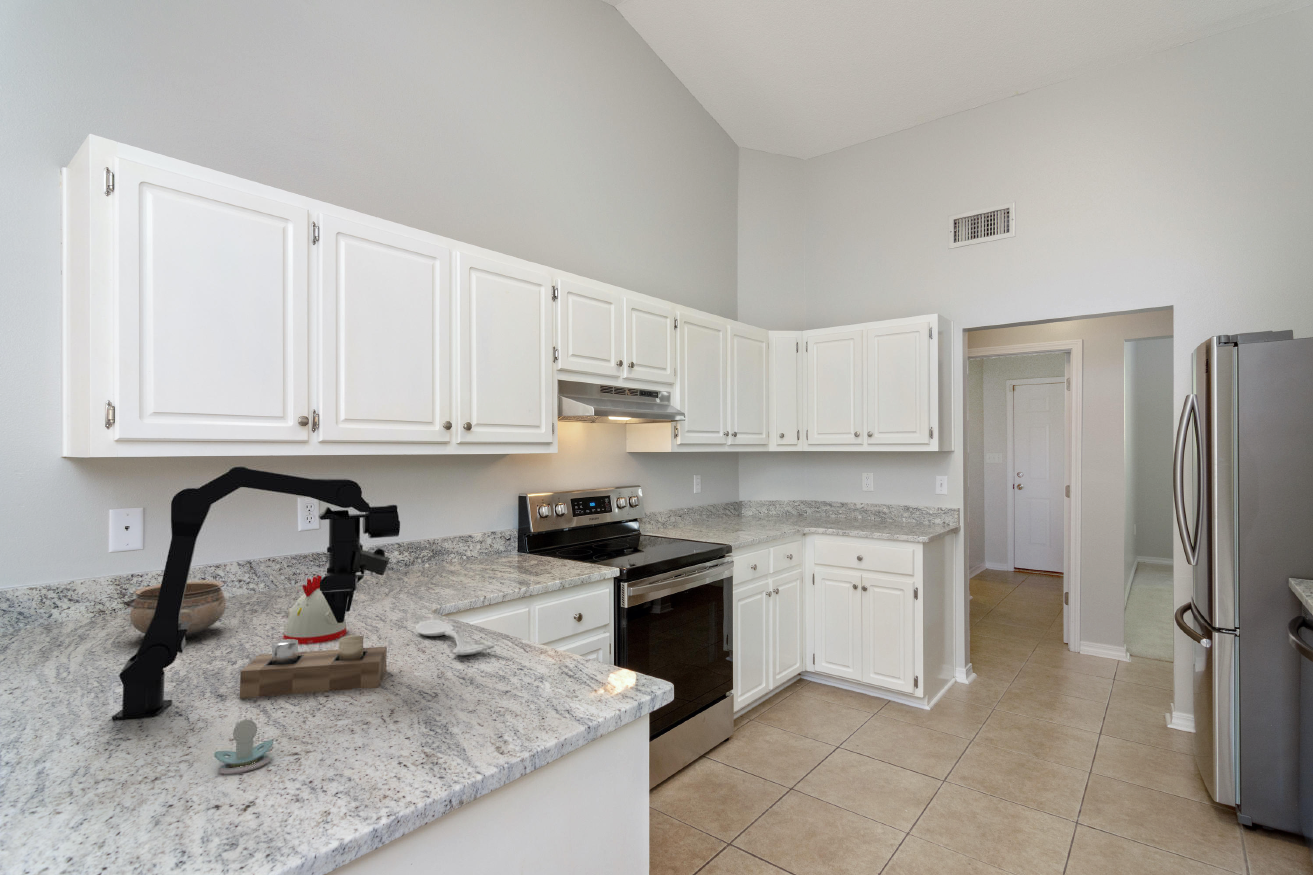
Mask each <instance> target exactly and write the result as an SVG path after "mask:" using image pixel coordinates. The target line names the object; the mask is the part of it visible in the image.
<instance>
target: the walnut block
mask: <svg viewBox="0 0 1313 875" xmlns="http://www.w3.org/2000/svg"><path fill="white" fill-rule="evenodd" d="M387 650H388V646H375V647H373V646H372V647H363V658H362V659H354V660H339V649H330V650H329V649H326V650H311V651H310V650H309V651H298V659H297V662H296V663H294V664H280V665H272V653H266V654H265V653H264V654H263V653H262V654H258V655H257V656H256V657H255V658H253V659H252V660H251V661H250V662H249V663H248V664H247V665H246V666H245V667H243V668H242V669H241V670H240V674H239V676H240V678H239V699H246V698H257V697H259V698H260V697H272V696H273V697H274V696H283V695H284V696H286V695H294V694H296V695H298V694H310V693H311V694H312V693H320V692H321V693H322V692H323V693H324V692H334V691H336V692H337V691H345V690H346V691H348V690H349V691H350V690H360V689H361V690H362V689H372V688H379V687H380V684H381V683H382V680H383V678H384V675H385V674H386V671H387V656H388V655H387V652H388V651H387Z"/></svg>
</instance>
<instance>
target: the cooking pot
mask: <svg viewBox="0 0 1313 875" xmlns="http://www.w3.org/2000/svg"><path fill="white" fill-rule="evenodd" d="M223 586H224V583H223V582H222V581H220V580H219V581H218V580H209V579H207V580H205V579H204V580H188V581H187V585H186V589H185V594H184V598H183V603H182V607H181V623H185V622H190V624H189V627H188V629H187V632H186V634H185V640H188V639H191V638H194V637H195V636H197V635H198V634H200V633H201V632H203V631H205V630H206V629H209V628H210V627H212V626H213V625H214V624H216V623H217V622H218V621H219V620H220V619H221V618H222V616H223V615H224V613H225V610H226V606H227V602H226V601H227V600H226V597H225V594H224V592H223V591H222V588H221V587H223ZM160 587H161V583H158V584H153V585H148V586H145V587H141V588H137V589H136V590H135V591H134V594H135V595H137V597H136V598H135V600H134V602H133V603H132V607H131V609H130V612H129V619H130V622H131V625H132V626H133V627H134V629H135V630H137V631H138V632H140V633H142V634H144V635H145V634H146V631H147V629H148V627H149V625H150V623H151V621H152V619H153V616H154V614H155V609H156V605H157V601H158V596H159V592H160Z"/></svg>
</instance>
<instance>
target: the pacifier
mask: <svg viewBox="0 0 1313 875" xmlns="http://www.w3.org/2000/svg"><path fill="white" fill-rule="evenodd" d="M257 732H258V725H257V723H256V722H255V721H254V720H252V719H243V720H241V721H240V722H238V723H237V724H235V727H234V728H233V732H232V736H233V737H232V738H233V740H234V741H235V743H236V744H235V751H234V750H233V751H232V750H217V751H215V752H214V754H213V755H214V758H215V759H216V760H218V762H221V763H223V764H222V765H220V766H219V768H218V769H217V772H218V773H219V774H222V775H235V774H241V773H245V772H249V771H253V770H256V769H259V768H261V767H263V766H265V765H267V764H268V763H270V761H271V757H270V756H268V755H265V754H266V753H268V752H269V750H270V749H271V748H272V747H273V745H274V740H273V739H269V740H265V741H263V742H261V743H259V744H257V745H255V746H254V738H255V737H256V735H257ZM258 760H259V761H258ZM257 761H258V762H257ZM254 762H256V763H254ZM252 763H254V764H252ZM250 764H251V765H250ZM246 765H248V766H246ZM240 766H244V767H240ZM230 767H239V768H230Z"/></svg>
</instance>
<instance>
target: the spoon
mask: <svg viewBox="0 0 1313 875" xmlns="http://www.w3.org/2000/svg"><path fill="white" fill-rule="evenodd" d="M415 631H416V632H417V633H419V634H420V635H423V636H428V637H441V636H443V635H444V636H446V637H451V638H453V639H454V640H455V642H456V647H455V648H454V649H453V650H452V653H453V654H454V655H456V656H470V655H474V654H479V653H481V652H485V651H488V650H491V649H494V648H495V645H494V643H488V644H485V645H481V644H479V645H478V644H474V645H473V644H468V643H467V642H465V641H464V640H463V638H462V637H461V636H460V635H459V634H458V630H455V627H454V626H453V625H452V624H451V623H449V622H446V621H443V620H438V619H437V620H436V619H430V620H429V619H427V620H423V621H421V622H419V623H417V625H416V626H415Z"/></svg>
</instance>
